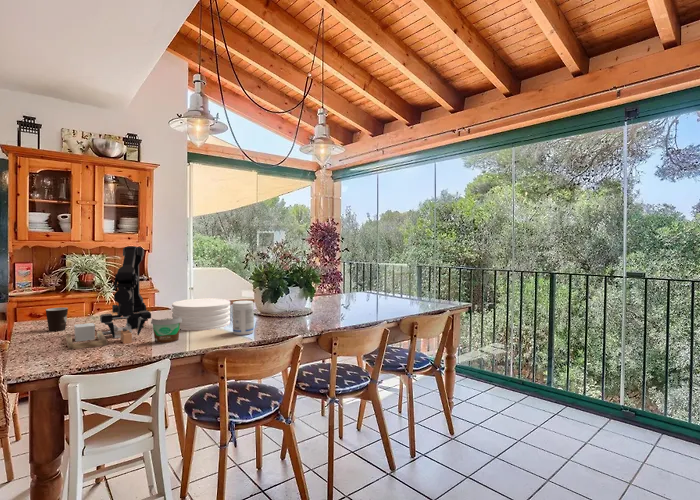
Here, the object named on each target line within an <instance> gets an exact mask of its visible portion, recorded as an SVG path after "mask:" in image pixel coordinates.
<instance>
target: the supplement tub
mask: <svg viewBox="0 0 700 500" xmlns="http://www.w3.org/2000/svg"><path fill="white" fill-rule="evenodd" d="M254 316H255V315H254V301H252V300H236V301H233V302H232V333H233V334H234V335H238V336H245V335H250V334H253V333H254V331H255V329H254V328H255V323H254V321H255V317H254Z"/></svg>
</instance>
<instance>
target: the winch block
mask: <svg viewBox="0 0 700 500" xmlns="http://www.w3.org/2000/svg"><path fill="white" fill-rule="evenodd" d="M113 325H114V333H115V338H114V339H117V338H121V331H122V330H123V328H127V330H129V331H130V332H131V333H132V334H133V329H131V325H130V324H129V323H127V322H126V323H125V326H122V327H120V326H119V327H118V326H117V325H116V324H113ZM102 333H103V335H104V336H108V335H109V336H112V333H111V331H110V330H108V331H102Z"/></svg>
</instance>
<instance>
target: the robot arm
mask: <svg viewBox="0 0 700 500" xmlns="http://www.w3.org/2000/svg"><path fill="white" fill-rule="evenodd" d="M122 256H123V257H124V258H123V261H122V266H121V267H119V268H118V269H117V273H115V277H114V284H113V288H114V289H117V290H116V292H115V293H114V294H113V298H114V299H113V300H114V301H115V302H116V303H117V304H112V305H111V306H112V313H113V314H115V313H116V314H115V315H113V314H111V313H104V314H101V315H100V316H99V321H100V323H101V324H104V325H105V326H108V328H109V331H111V333H112V334H111V336H112V338H113V339H116V338H115V333H114V325H115V324H114V322H113V321H114V320H115V321H116V320H124V319H126V324H127V323H129V324H130V325H131V329H132V330H133V329H136V330H137V336H140V333H141V331H142V328H144V327H145V326H144V324H145V323H146V322H148V321H149V319H152V313H151V311H149V310H147V305H146V303H145V302H144V297H143V296H142V295H141V294H140V292H141V291H140V264H141V263H142V261H143V257H144V256H145V250H144V248H143V247H141V246H134V245H133V246H132V245H131V246H129V245H128V246H125V247H123V248H122Z"/></svg>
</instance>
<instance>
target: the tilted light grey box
mask: <svg viewBox="0 0 700 500" xmlns="http://www.w3.org/2000/svg"><path fill="white" fill-rule="evenodd" d="M74 340H75V343H79V342H87V341H96V325H95V323H94V322H88V323H78V324H74Z"/></svg>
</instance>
